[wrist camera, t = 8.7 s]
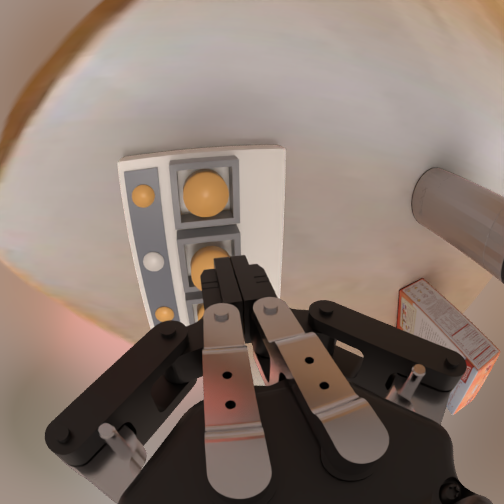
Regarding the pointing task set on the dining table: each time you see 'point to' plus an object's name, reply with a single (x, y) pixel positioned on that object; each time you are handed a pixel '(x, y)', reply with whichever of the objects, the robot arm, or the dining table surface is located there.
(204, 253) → the middle button
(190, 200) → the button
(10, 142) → the dining table surface
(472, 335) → the cracker box
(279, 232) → the button console
